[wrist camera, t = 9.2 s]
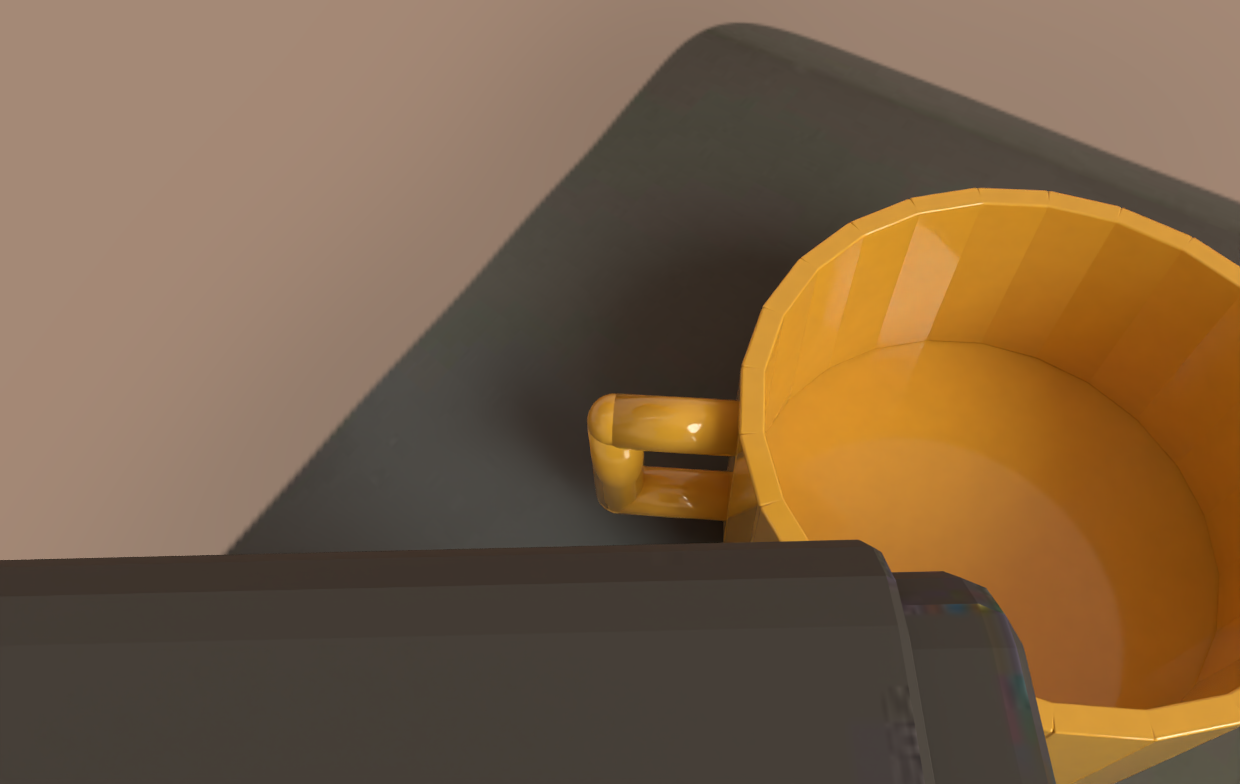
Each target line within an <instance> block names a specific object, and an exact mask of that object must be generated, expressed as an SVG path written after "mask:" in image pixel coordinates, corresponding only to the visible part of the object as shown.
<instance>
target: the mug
mask: <svg viewBox="0 0 1240 784" xmlns="http://www.w3.org/2000/svg"><path fill="white" fill-rule="evenodd" d="M587 428H588V436H589V444H590V452H591V460H592V467H593V475H594V483H595V491H596V496H597V499H598V501H599V503H600V504H601V506H602V507H604V508H605V509H606V510H608V511H609V512H612V513H615V514H625V515H640V516H655V517H670V518H685V519H700V520H715V521H723V532H724V534H723V540H724V543H736V542H777V541H818V540H861V541H863V542H864V543H866V544H868V545H870V546H872V547H874V548H876V549H877V550H879V551H881V552H882V554H883V556H884V558H885V560H886V562H887V564H888V566H889V568H890V570H891V572H926V571H944V572H947V573H950V574H953V575H955V576H958V577H961V578H963V579H966V580H968V581H971V582H973V583H976V584H978V585H980V586H983V587H985V588H987V590H988V591H989V592H990V594H991V595H992V597H993V598H994V599H995V601H996V602H997V604H998V605H999V606H1000V608H1001V609H1002V611H1003V612H1004V613H1005V615H1006V617H1007V618H1008V620H1009V622H1010V623H1011V625H1012V627H1013V629H1014V630H1015V632H1016V634H1017V635H1018V637H1019V639H1020V641H1021V642H1022V644H1023V647H1024V650H1025V654H1026V658H1027V662H1028V667H1029V671H1030V675H1031V679H1032V684H1033V688H1034V692H1035V696H1036V701H1037V705H1038V709H1039V713H1040V718H1041V722H1042V726H1043V730H1044V735H1045V739H1046V743H1047V747H1048V752H1049V756H1050V760H1051V764H1052V769H1053V773H1054V777H1055V781H1056V784H1114V783H1116V782H1119V781H1121V780H1123V779H1126V778H1128V777H1130V776H1132V775H1134V774H1137V773H1139V772H1141V771H1143V770H1145V769H1148V768H1150V767H1152V766H1154V765H1156V764H1159V763H1161V762H1163V761H1165V760H1167V759H1170V758H1172V757H1174V756H1176V755H1178V754H1181V753H1183V752H1185V751H1187V750H1189V749H1192V748H1194V747H1196V746H1198V745H1200V744H1203V743H1205V742H1207V741H1209V740H1211V739H1214V738H1216V737H1218V736H1220V735H1222V734H1225V733H1227V732H1229V731H1231V730H1233V729H1236V728H1238V727H1240V266H1238V265H1236V264H1235V263H1233V262H1232V261H1230V260H1229V259H1227V258H1226V257H1224V256H1222V255H1221V254H1219V253H1218V252H1216V251H1215V250H1213V249H1212V248H1210V247H1208V246H1207V245H1205V244H1204V243H1202V242H1201V241H1199V240H1198V239H1196V238H1192V237H1191V236H1190V235H1187V234H1185V233H1182V232H1180V231H1178V230H1175V229H1173V228H1170V227H1168V226H1166V225H1163V224H1161V223H1158V222H1156V221H1154V220H1151V219H1149V218H1146V217H1144V216H1142V215H1139V214H1137V213H1134V212H1132V211H1130V210H1127V209H1125V208H1120V207H1119V206H1115V205H1110V204H1106V203H1102V202H1097V201H1093V200H1088V199H1084V198H1079V197H1075V196H1070V195H1066V194H1062V193H1057V192H1053V191H1049V192H1048V191H1046V190H1021V189H996V188H978V189H977V188H970V189H964V190H958V191H951V192H945V193H939V194H932V195H926V196H920V197H913V198H910V199H907V200H904V201H902V202H899V203H897V204H894V205H892V206H889V207H887V208H884V209H882V210H879V211H877V212H874V213H872V214H869V215H866V216H864V217H861V218H859V219H856V220H854V221H852V222H851V223H848V224H846V225H845V226H844V227H842V228H841V229H839V230H838V231H837V232H835V233H834V234H833V235H831V236H830V237H828V238H827V239H826V240H824V241H823V242H822V243H820V244H819V245H818V246H816V247H815V248H813V249H812V250H811V251H809V252H808V253H807V254H805V255H804V256H802V257H801V258H800V259H799V260H798V261H797V262H796V263H795V265H794V266H793V267H792V269H791V270H790V271H789V273H788V274H787V275H786V276H785V278H784V279H783V280H782V282H781V283H780V284H779V286H778V287H777V288H776V290H775V291H774V292H773V293H772V295H771V296H770V297H769V299H768V300H767V301H766V303H765V304H764V305H763V308H762V310H761V311H760V314H759V317H758V320H757V323H756V325H755V328H754V331H753V334H752V337H751V339H750V342H749V345H748V348H747V351H746V353H745V356H744V359H743V362H742V365H741V370H740V377H739V385H738V392H737V400H728V399H710V398H693V397H675V396H658V395H641V394H623V393H610V394H606V395H604V396H602V397H600V398H599V399H597V400H596V401H595V402H594V403H593V404H592V406H591V408H590V409H589V412H588V415H587ZM644 451H651V452H667V453H683V454H699V455H715V456H729V461H728V468H727V471H717V470H701V469H686V468H670V467H654V466H644Z"/></svg>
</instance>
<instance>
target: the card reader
mask: <svg viewBox="0 0 1240 784" xmlns="http://www.w3.org/2000/svg"><path fill="white" fill-rule="evenodd" d="M0 784H1056V781H1055V777H1054V773H1053V769H1052V764H1051V760H1050V756H1049V752H1048V747H1047V743H1046V739H1045V735H1044V730H1043V726H1042V722H1041V718H1040V713H1039V709H1038V705H1037V701H1036V696H1035V692H1034V688H1033V684H1032V679H1031V675H1030V671H1029V667H1028V662H1027V658H1026V654H1025V650H1024V647H1023V644H1022V642H1021V641H1020V639H1019V637H1018V635H1017V634H1016V632H1015V630H1014V629H1013V627H1012V625H1011V623H1010V622H1009V620H1008V618H1007V617H1006V615H1005V613H1004V612H1003V611H1002V609H1001V608H1000V606H999V605H998V604H997V602H996V601H995V599H994V598H993V597H992V595H991V594H990V592H989V591H988V590H987V588H985V587H983V586H980V585H978V584H976V583H973V582H971V581H968V580H966V579H963V578H961V577H958V576H955V575H953V574H950V573H947V572H944V571H926V572H891V570H890V568H889V566H888V564H887V562H886V560H885V558H884V556H883V554H882V552H881V551H879V550H877V549H876V548H874V547H872V546H870V545H868V544H866V543H864V542H863V541H861V540H818V541H777V542H736V543H695V544H653V545H612V546H571V547H530V548H489V549H447V550H406V551H365V552H324V553H283V554H241V555H202V556H201V555H200V556H159V557H119V558H80V559H79V558H78V559H77V558H76V559H38V560H37V559H35V560H0Z"/></svg>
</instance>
